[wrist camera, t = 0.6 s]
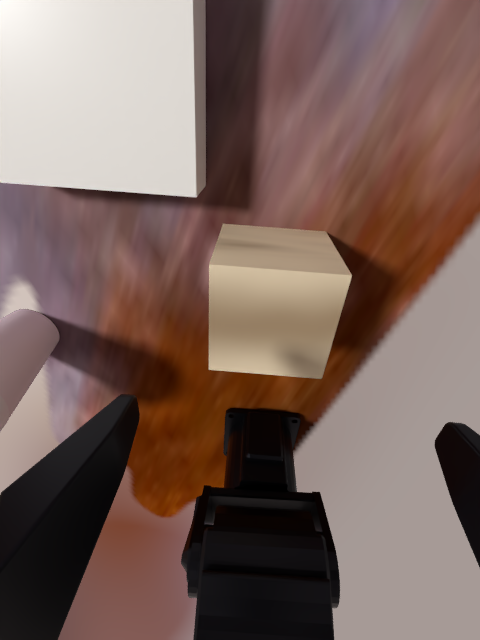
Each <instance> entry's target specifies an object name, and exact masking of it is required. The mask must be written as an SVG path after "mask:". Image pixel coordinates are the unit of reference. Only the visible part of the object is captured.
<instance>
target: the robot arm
mask: <svg viewBox="0 0 480 640" xmlns="http://www.w3.org/2000/svg"><path fill="white" fill-rule="evenodd" d="M138 423H139V408H138V402H137V397H136V396H135V395H129V394H122V395H120V396H118V397H117V398H116V399H115V400H113V401H112V402H111V403H110V404H109V405H107V406H106V407H105V408H104V409H102V410H101V411H100V412H99V413H98V414H96V415H95V416H94V417H93V418H91V419H90V420H89V421H88V422H87V423H85V424H84V425H83V426H82V427H80V428H79V429H78V430H77V431H76V432H74V433H73V434H72V435H71V436H69V437H68V438H67V439H66V440H65V441H63V442H62V443H61V444H60V445H58V446H57V447H56V448H55V449H54V450H52V451H51V452H50V453H49V454H47V455H46V456H45V457H44V458H43V459H41V460H40V461H39V462H38V463H37V464H35V465H34V466H33V467H32V468H31V469H29V470H28V471H27V472H26V473H24V474H23V475H22V476H21V477H19V478H18V479H17V480H16V481H15V482H13V483H12V484H11V485H10V486H9V487H7V488H6V489H5V490H4V491H2V492H1V495H0V640H58V637H59V635H60V632H61V630H62V627H63V625H64V622H65V620H66V617H67V615H68V612H69V610H70V607H71V605H72V602H73V600H74V597H75V595H76V593H77V590H78V587H79V585H80V583H81V580H82V578H83V575H84V573H85V570H86V568H87V565H88V563H89V560H90V558H91V555H92V553H93V550H94V548H95V545H96V542H97V540H98V538H99V535H100V533H101V530H102V528H103V525H104V522H105V520H106V518H107V515H108V513H109V510H110V508H111V505H112V503H113V500H114V497H115V495H116V493H117V490H118V488H119V485H120V483H121V480H122V477H123V475H124V472H125V469H126V465H127V462H128V458H129V455H130V451H131V448H132V444H133V440H134V437H135V433H136V430H137V426H138ZM299 426H300V416H299V415H298V414H291V413H279V412H266V411H254V410H242V409H228V410H226V416H225V435H224V455H226V456H227V460H226V471H225V481H224V488H218V487H211V486H207V485H204V488H203V493H202V495H201V496H199V497H197V498H196V504H195V511H194V516H193V521H192V525H191V528H190V531H189V534H188V538H187V541H186V544H185V547H184V550H183V554H182V559H181V564H182V566H183V567H184V569H185V571H186V572H187V582H188V596H189V598H197V605H196V617H195V629H194V640H334V629H333V613H332V608H337V607H338V604H339V598H340V580H339V569H338V561H337V556H336V550H335V546H334V542H333V539H332V535H331V531H330V528H329V524H328V520H327V517H326V513H325V509H324V505H323V502H322V498H321V494H320V492H312V493H303V492H297V488H296V478H295V469H294V459H293V448H294V444H295V440H296V437H297V433H298V429H299ZM435 449H436V452H437V455H438V458H439V462H440V465H441V468H442V471H443V475H444V478H445V481H446V484H447V487H448V490H449V493H450V496H451V499H452V502H453V505H454V507H455V510H456V512H457V514H458V517H459V519H460V522H461V524H462V527H463V529H464V531H465V534H466V536H467V538H468V541H469V543H470V546H471V548H472V550H473V553H474V555H475V557H476V560H477V562H478V565H479V567H480V435H479V434H477V433H476V432H475V431H473V430H472V429H471V428H469V427H468V426H466V425H465V424H462V423H453V422H448V423H447V424H445V426H444V427H443V429H442V431H441V432H440V433H439V435H438V436H437V438H436V440H435Z"/></svg>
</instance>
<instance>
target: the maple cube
mask: <svg viewBox="0 0 480 640" xmlns="http://www.w3.org/2000/svg"><path fill="white" fill-rule="evenodd" d="M351 278H352V274H351V273H350V271H349V269H348V268H347V266H346V264H345V263H344V261H343V259H342V258H341V256H340V254H339V253H338V251H337V249H336V248H335V246H334V244H333V243H332V241H331V239H330V238H329V236H328V234H327V233H326V232H324V231H311V230H298V229H285V228H272V227H259V226H246V225H233V224H223V226H222V229H221V232H220V234H219V237H218V240H217V243H216V246H215V249H214V252H213V255H212V258H211V260H210V263H209V370H219V371H231V372H243V373H256V374H268V375H280V376H292V377H305V378H317V379H322V376H323V373H324V370H325V366H326V363H327V359H328V356H329V353H330V349H331V346H332V342H333V339H334V336H335V332H336V329H337V325H338V322H339V319H340V315H341V312H342V308H343V305H344V302H345V298H346V295H347V291H348V288H349V285H350V281H351Z"/></svg>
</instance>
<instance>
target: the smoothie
mask: <svg viewBox="0 0 480 640" xmlns="http://www.w3.org/2000/svg"><path fill="white" fill-rule="evenodd" d="M58 342H59V332H58V329H57V328H56V326H55V325H54V323H53V322H52V321H51V320H50V319H48V318H47V317H46V316H44V315H43V314H41V313H39V312H36V311H33V310H29V309H19V310H16V311H14V312H12V313H10V314H9V315H7V316H5V317H3V318H2V319H0V431H1V430H2V428H3V427H4V425H5V424H6V423H7V421H8V419H9V417H10V416H11V414H12V413H13V411H14V410H15V408H16V407H17V405H18V404H19V402H20V401H21V399H22V397H23V396H24V394H25V393H26V391H27V390H28V388H29V386H30V385H31V384H32V382H33V380H34V379H35V377H36V376H37V374H38V373H39V371H40V370H41V368H42V367H43V365H44V364H45V362H46V360H47V359H48V357H49V356H50V354H51V353H52V351H53V350H54V348H55V347H56V345H57V343H58Z"/></svg>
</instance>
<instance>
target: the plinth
mask: <svg viewBox="0 0 480 640" xmlns="http://www.w3.org/2000/svg"><path fill="white" fill-rule="evenodd" d="M0 183H13V184H27V185H40V186H53V187H66V188H79V189H92V190H106V191H119V192H132V193H145V194H158V195H171V196H185V197H197V196H198V195H199V194H200V192H201V191H202V190H203V189H204V187H205V186H206V0H0Z"/></svg>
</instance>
